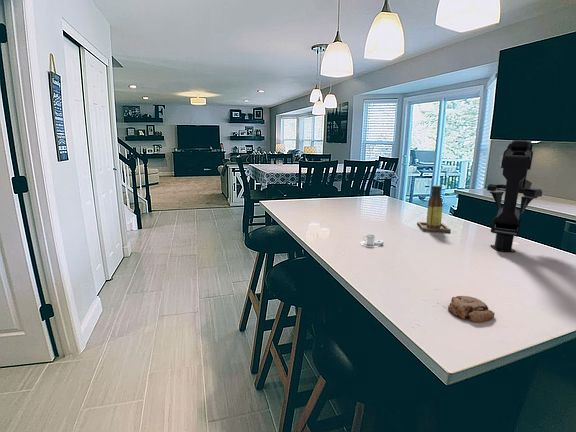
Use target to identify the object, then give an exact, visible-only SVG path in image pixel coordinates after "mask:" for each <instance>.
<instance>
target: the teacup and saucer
mask: <svg viewBox="0 0 576 432" xmlns="http://www.w3.org/2000/svg"><path fill="white" fill-rule="evenodd" d="M365 237H366V240H365ZM375 237H376V236H375V234H371V233H367V234H366V235H364V236H363V237H362V238H363V241H360V242H359V245H361V246H363V247H367V248H369V247H370V248H378V247H380V246H382V245H384V244H385V242H384V240H380V239H378V240H375ZM364 243H366V244H367V245H366V244H364ZM374 245H375V246H374Z"/></svg>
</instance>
